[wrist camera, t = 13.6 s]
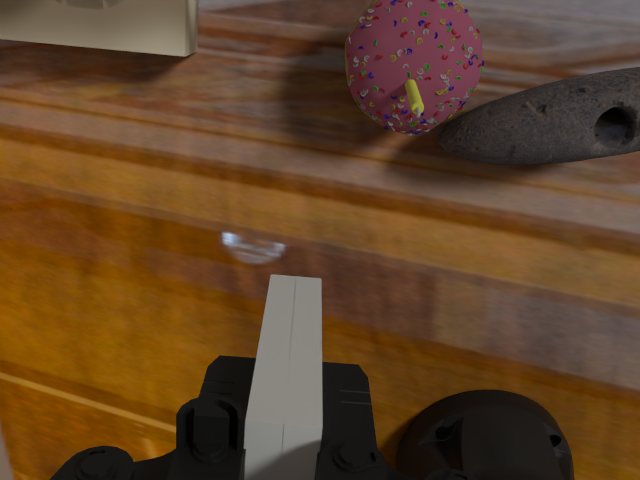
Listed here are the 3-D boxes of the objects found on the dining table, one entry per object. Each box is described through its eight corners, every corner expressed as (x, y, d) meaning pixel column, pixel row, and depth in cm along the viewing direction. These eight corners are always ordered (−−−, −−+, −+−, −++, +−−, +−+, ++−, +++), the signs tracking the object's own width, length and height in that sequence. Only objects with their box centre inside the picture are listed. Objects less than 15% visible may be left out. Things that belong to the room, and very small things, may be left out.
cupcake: (436, 134, 42) (478, 181, 31) (324, 97, 41) (326, 132, 30) (484, 12, 39) (550, 16, 28) (364, -31, 38) (383, -45, 27)
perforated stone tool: (433, 165, 43) (453, 193, 37) (426, 93, 41) (446, 109, 35) (640, 132, 42) (698, 155, 36) (643, 57, 40) (705, 67, 34)
